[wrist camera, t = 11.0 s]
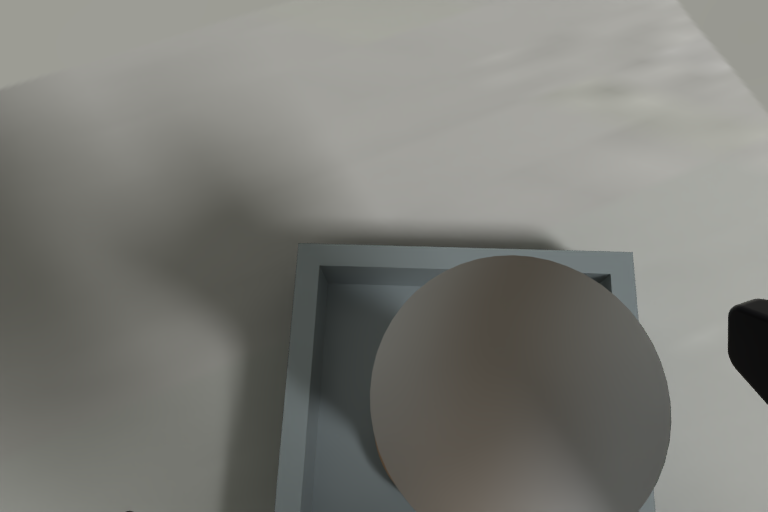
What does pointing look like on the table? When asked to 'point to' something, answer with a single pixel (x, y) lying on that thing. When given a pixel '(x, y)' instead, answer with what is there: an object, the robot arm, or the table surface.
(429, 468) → the wooden dome-topped cylinder
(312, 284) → the slate tray
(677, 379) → the table surface
